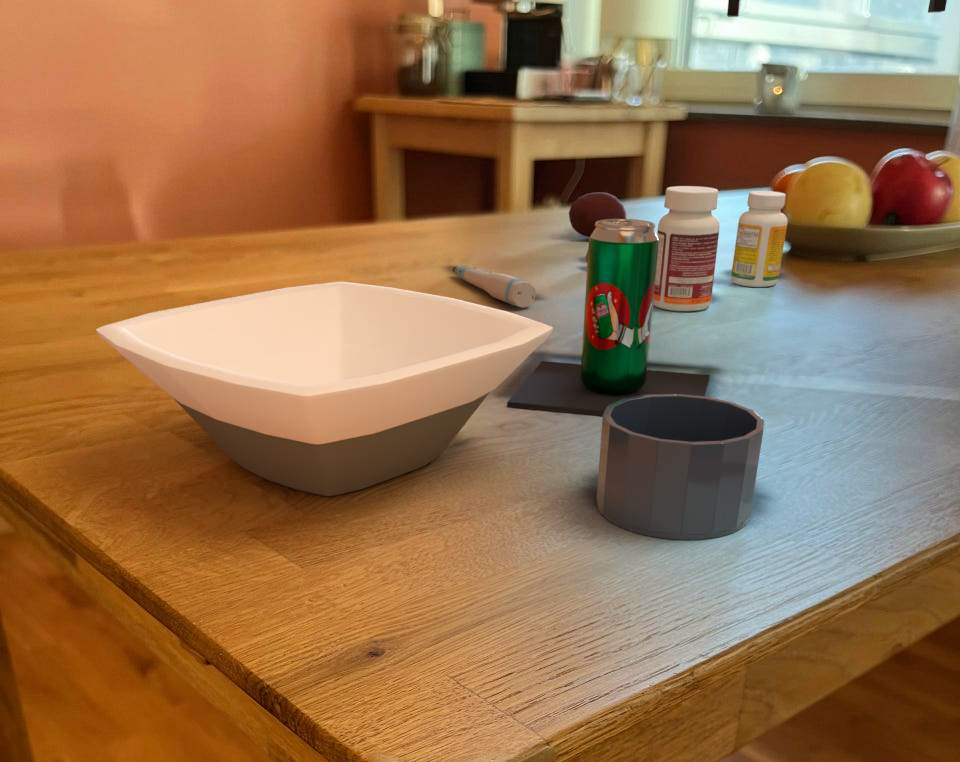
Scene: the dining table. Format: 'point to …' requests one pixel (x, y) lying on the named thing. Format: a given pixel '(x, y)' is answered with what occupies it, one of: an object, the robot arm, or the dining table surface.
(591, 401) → the mat
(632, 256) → the soda can
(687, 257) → the pill bottle
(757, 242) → the supplement bottle
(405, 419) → the bowl
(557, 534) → the dining table surface
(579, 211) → the plum
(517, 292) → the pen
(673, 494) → the gray round container
